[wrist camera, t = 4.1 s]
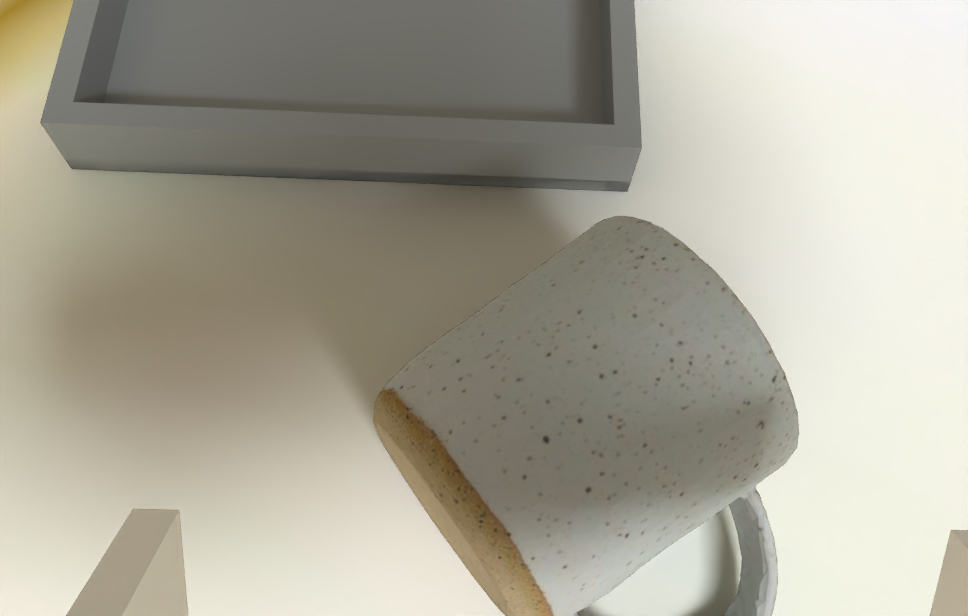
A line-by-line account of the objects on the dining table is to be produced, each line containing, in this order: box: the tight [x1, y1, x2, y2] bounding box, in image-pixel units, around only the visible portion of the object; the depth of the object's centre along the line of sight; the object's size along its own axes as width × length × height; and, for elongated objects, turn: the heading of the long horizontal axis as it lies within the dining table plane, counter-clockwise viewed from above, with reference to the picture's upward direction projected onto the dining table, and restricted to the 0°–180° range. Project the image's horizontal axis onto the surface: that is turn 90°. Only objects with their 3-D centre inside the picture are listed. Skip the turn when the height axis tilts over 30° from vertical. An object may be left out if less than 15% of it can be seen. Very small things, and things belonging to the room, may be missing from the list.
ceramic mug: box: [373, 216, 799, 616], centre depth 22 cm, size 11×8×8 cm
